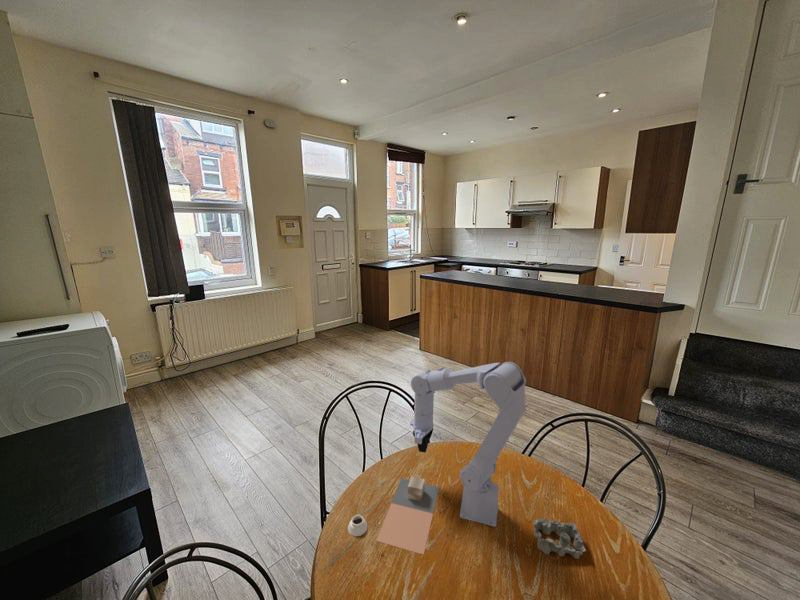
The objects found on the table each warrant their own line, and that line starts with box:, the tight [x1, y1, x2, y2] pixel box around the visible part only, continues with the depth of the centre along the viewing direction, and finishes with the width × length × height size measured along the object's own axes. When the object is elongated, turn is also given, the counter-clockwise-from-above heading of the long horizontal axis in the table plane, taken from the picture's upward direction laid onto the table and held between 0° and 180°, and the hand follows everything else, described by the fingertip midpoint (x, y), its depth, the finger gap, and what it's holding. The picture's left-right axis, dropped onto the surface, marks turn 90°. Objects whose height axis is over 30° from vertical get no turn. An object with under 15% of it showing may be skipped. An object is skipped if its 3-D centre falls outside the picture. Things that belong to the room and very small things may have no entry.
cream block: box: [408, 476, 426, 501], centre depth 93 cm, size 4×4×4 cm
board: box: [375, 477, 440, 555], centre depth 88 cm, size 12×22×1 cm, turn 163°
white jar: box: [347, 514, 369, 537], centre depth 83 cm, size 5×3×5 cm
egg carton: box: [532, 517, 586, 560], centre depth 79 cm, size 11×8×4 cm
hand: (422, 450), depth 99 cm, fingers closed
